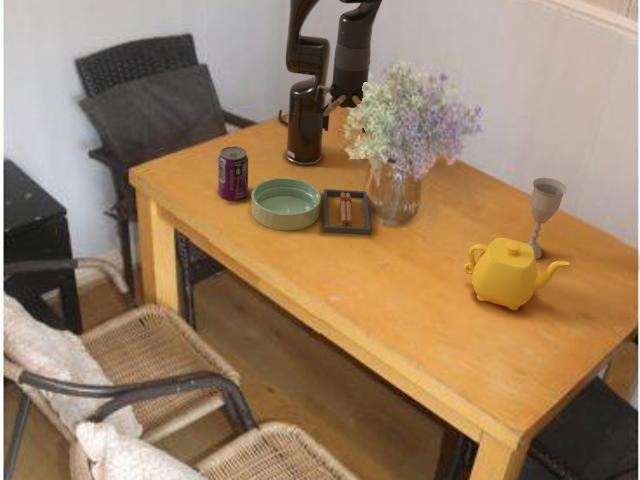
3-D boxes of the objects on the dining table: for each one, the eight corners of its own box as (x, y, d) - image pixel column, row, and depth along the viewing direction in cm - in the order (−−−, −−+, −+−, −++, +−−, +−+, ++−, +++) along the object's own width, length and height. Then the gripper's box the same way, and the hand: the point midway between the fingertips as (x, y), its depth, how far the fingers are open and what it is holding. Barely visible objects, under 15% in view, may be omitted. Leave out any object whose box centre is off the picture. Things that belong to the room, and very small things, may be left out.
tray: (323, 195, 182) (323, 188, 181) (365, 198, 183) (366, 191, 182) (323, 234, 169) (324, 227, 168) (369, 236, 169) (370, 229, 168)
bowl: (253, 193, 181) (254, 175, 178) (318, 196, 182) (320, 179, 179) (248, 230, 168) (249, 212, 165) (319, 234, 169) (320, 216, 166)
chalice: (547, 248, 171) (568, 182, 160) (544, 264, 166) (566, 197, 155) (516, 240, 172) (534, 174, 162) (512, 256, 167) (531, 189, 157)
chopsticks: (339, 200, 180) (340, 191, 179) (349, 200, 180) (350, 192, 179) (340, 228, 171) (341, 219, 169) (351, 228, 171) (352, 219, 169)
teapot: (467, 264, 163) (478, 217, 156) (557, 289, 158) (573, 242, 151) (453, 300, 153) (464, 251, 145) (550, 329, 148) (567, 280, 140)
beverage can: (246, 204, 177) (246, 161, 170) (216, 202, 177) (216, 158, 170) (249, 188, 183) (249, 146, 176) (220, 186, 182) (220, 144, 175)
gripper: (383, 57, 158) (375, 124, 168) (318, 53, 157) (313, 120, 167) (386, 71, 152) (377, 140, 162) (318, 67, 151) (313, 137, 161)
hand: (345, 130), depth 165 cm, fingers open, 8 cm apart
